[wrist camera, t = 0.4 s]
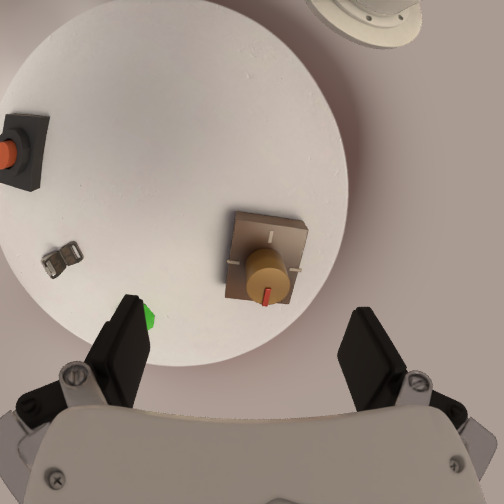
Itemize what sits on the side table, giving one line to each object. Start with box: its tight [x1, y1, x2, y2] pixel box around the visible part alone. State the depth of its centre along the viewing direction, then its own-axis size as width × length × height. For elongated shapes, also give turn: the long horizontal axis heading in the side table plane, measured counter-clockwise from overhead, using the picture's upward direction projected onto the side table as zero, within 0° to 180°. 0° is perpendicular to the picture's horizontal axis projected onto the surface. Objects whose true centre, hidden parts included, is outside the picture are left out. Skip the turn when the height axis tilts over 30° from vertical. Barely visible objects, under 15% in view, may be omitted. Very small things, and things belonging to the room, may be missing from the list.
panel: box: [225, 211, 308, 304], centre depth 33 cm, size 10×9×3 cm
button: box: [0, 140, 17, 169], centre depth 22 cm, size 4×4×2 cm
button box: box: [0, 113, 50, 192], centre depth 24 cm, size 10×8×4 cm
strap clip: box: [41, 242, 83, 279], centre depth 31 cm, size 8×3×4 cm, turn 108°
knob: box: [245, 249, 290, 306], centre depth 29 cm, size 4×4×5 cm
